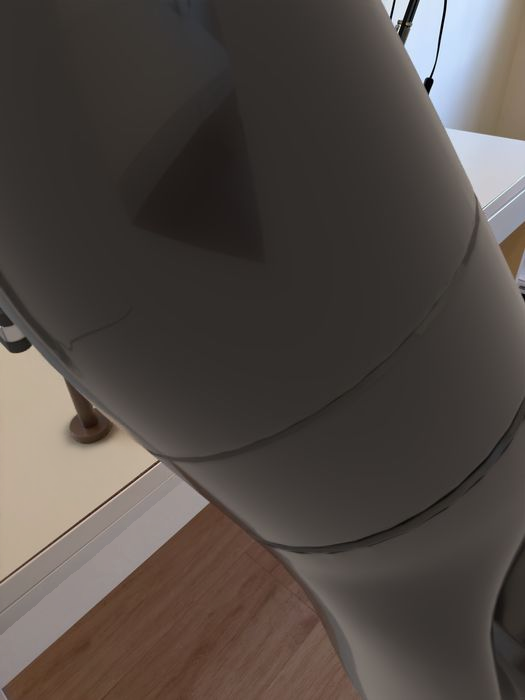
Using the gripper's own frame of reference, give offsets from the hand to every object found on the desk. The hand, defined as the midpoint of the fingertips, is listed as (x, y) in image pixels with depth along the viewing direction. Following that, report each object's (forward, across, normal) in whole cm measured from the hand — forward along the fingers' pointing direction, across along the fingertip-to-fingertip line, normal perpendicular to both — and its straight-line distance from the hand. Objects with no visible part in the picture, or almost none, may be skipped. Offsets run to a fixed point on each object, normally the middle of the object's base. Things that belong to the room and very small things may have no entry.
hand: (52, 225), depth 35 cm
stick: (+10, 0, +28) cm, 30 cm away
